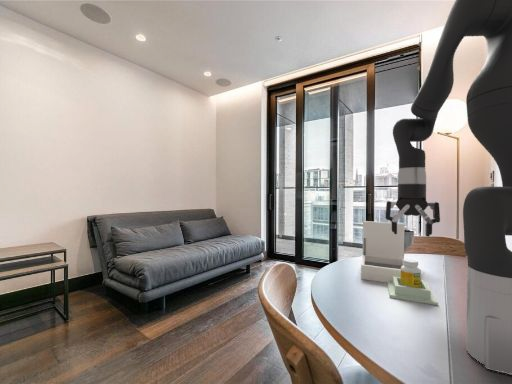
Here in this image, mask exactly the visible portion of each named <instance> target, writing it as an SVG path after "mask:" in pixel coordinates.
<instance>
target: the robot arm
mask: <svg viewBox="0 0 512 384" xmlns="http://www.w3.org/2000/svg"><path fill="white" fill-rule="evenodd" d="M465 37H484V39H485V41H486V50H487V51H486V60H485V62H484V64H483V66H482V68H481V70H480V71H479V72H478V74H477V75H476V77H475V78H474V80H473V82H472V83H471V85H470V87H469V89H468V90H467V94H466V97H465V99H466V101H465V102H466V115H467V117H466V118H467V123H468V127H469V130H470V132H471V133H472V134H473V136H474V137H475V139H476V140H477V142H479V143H480V144H481V146H482V147H484V150H486V152H488V153H489V155H490V156H491V157H492V158H493V160H494V162H495V163H496V165H497V167H498V171H499V174H500V178H501V185H502V186H479V187H475V188H473V189H471V190H469V192H468V193H467V194H466V196H465V198H464V201H463V207H462V220H463V223H462V225H463V241H464V242H463V243H464V244H463V245H464V246H463V247H464V250H465V254H466V258H467V279H466V280H467V282H466V283H467V285H466V287H467V288H466V289H467V290H466V327H465V329H466V330H465V331H466V333H465V334H466V335H465V336H466V338H465V339H466V340H465V343H466V346H465V347H466V352H467V351H468V352H467V354H468V353H469V354H470V355H471V356H472V357H474V358H475V359H476V360H477V361H476V360H475V359H474V360H475V361H476V362H478V361H479V362H480V363H479V362H478V363H479V364H481V363H482V364H484V365H485V366H486V367H487V368H490V369H493V370H499V371H504V372H507V373H512V250H510V249H509V248H508V246H507V238H506V236H508V237H509V236H512V0H455V1H454V3H453V5H452V6H451V9H450V10H449V12H448V15H447V18H446V20H445V23H444V25H443V29H442V31H441V33H440V37H439V39H438V42H437V45H436V47H435V50H434V54H433V57H432V60H431V62H430V65H429V69H428V71H427V73H426V76H425V79H424V81H423V83H422V85H421V87H420V89H419V91H418V92H417V95H416V96H415V98H414V100H413V102H412V104H411V106H410V112H411V114H412V115H413V116H415V117H417V118H400V119H398V120H397V121H396V122H395V124H394V125H393V127H392V137H393V140H394V144H395V146H396V150H397V153H398V173H397V181H396V183H397V200H396V201H390V200H387V201H386V205H385V216H384V217H385V220H387V221H390V223H392V232H394V234H397V223H398V222H397V221H398V220H400V218H401V217H403V215H405V216H408V217H409V216H414V217H418V216H421V218H423V220H424V222H426V223H425V224H424V225H425V233H424V235H425V237H427V238H428V237H430V236H431V235H432V234H433V225H434V224H436V223H437V224H438V223H440V222H441V216H440V215H441V213H440V203H439V202H437V201H434V202H433V201H432V202H428V201H427V172H426V171H427V170H426V151H425V150H424V149H422V148H418V147H414V146H413V144H412V142H415V143H418V142H420V143H421V142H425V141H427V140H428V139H429V138H430V137H431V136H432V134H433V133H434V129H435V126H436V125H435V124H436V120H437V118H438V115H439V112H440V110H441V108H443V106H444V104H445V102H446V101H447V100H448V98H449V96H450V94H452V93H451V92H452V91H453V86H454V79H455V78H454V77H455V76H454V58H455V53H456V51H457V49H458V48H459V45H460V44H461V42H462V41H463V39H464V38H465ZM394 206H396V207H397V208H398V211H397V212H396V213H395V214H394V216H393V217H392V216H391V209H394ZM428 207H429V208H430V210H432V218H430V217H429V215H428V214H427V213H426V212H425V210H426V209H427V208H428ZM469 354H468V355H469ZM470 355H469V356H470ZM471 356H470V357H471ZM472 357H471V358H472ZM482 364H481V365H482ZM484 365H483V366H484ZM485 366H484V367H485Z"/></svg>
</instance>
